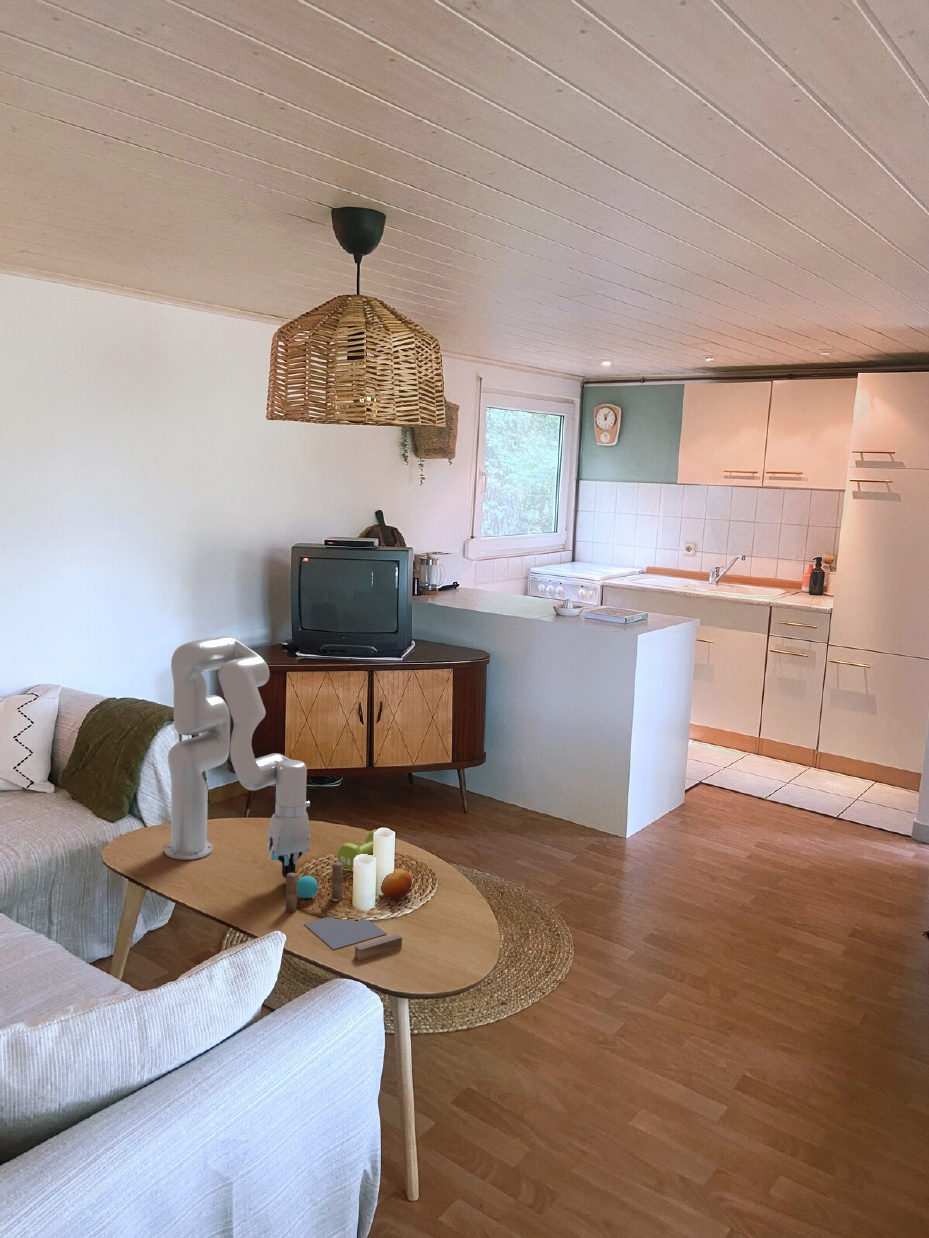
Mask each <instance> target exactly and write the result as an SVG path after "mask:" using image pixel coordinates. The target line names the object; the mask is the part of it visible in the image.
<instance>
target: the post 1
mask: <svg viewBox="0 0 929 1238" xmlns="http://www.w3.org/2000/svg"><path fill="white" fill-rule="evenodd" d="M298 875H299V874H298V873H296V872H295V873H288V874H287V878H285V879H286V882H285V884H286V885H285V907H284V908H285V909H284V910H285V912H286V913H288V914H294V913H296V912H297V902H298V901H297V900H298V894H297V881H298V877H299V876H298Z"/></svg>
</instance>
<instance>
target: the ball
mask: <svg viewBox="0 0 929 1238" xmlns="http://www.w3.org/2000/svg"><path fill="white" fill-rule="evenodd" d="M318 890H319V885H318V881H317V879H316V878H314V877H313V876H310V875H304V876H302V877H300V878H299V879H297V896H298V897H300V898H301V899H304V898H309V899H312V898H313V897H314V896H315V895H317V893H318ZM311 897H312V898H311Z"/></svg>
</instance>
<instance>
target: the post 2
mask: <svg viewBox="0 0 929 1238" xmlns="http://www.w3.org/2000/svg"><path fill="white" fill-rule="evenodd" d="M343 874H344V870H343V863H339V862H338V861H337V862H334V863H332V873H331V877H332V878H331V897H332V898H333V899H337V900H338V899H341V898H342V899H343V883H344V882H343V881H344V880H343V878H344V875H343ZM331 897H330V898H331Z"/></svg>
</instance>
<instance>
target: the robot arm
mask: <svg viewBox="0 0 929 1238" xmlns="http://www.w3.org/2000/svg"><path fill="white" fill-rule="evenodd" d="M269 668H270V667H269V665H268V663H267V662H266V660H264V658H263V657H261V655H260V654H258V653H256V652H255V651H254V650H252V649H250V648H249V647H248V646H247V645H245V644H243V643H242V642H240V641H239V640H237V639H235V638H233V637H230V636H219V637H212V638H203V639H198V640H193V641H189V642H186V643H183V644H181V645H180V646H178V647H177V648H176V650H174V651H173V654H172V656H171V662H170V669H171V674H172V680H173V724H174V728H175V730H176V732H177V733H178V734H180V735H181V736H194V737H191V738H187V739H184V740H181V741H179V742H177V743H175V744H174V745H172V747H171V748H170V749H169V751H168V753H167V763H168V768H169V773H170V774H169V775H170V787H171V788H170V789H171V796H170V797H171V803H170V804H171V805H170V806H171V807H170V809H171V810H170V813H171V814H170V843H168V844H167V845H166V846H165V847H164V855H166V856H167V857H169V858H171V859H174V860H182V861H185V860H187V861H190V860H197V859H201V858H204V857H206V856H208V855H209V854H211V853H212V852H213V844H212V843H211V842H209V841H208V797H209V796H208V792H209V791H208V784H207V782H206V781H205V779H204V777H203V772H205V771H208V770H210V769H214V768H216V767H219V766H222V765H223V764H224V763H225V762H226V761H227V760H228V758H229V756H230V760H231V764H232V767H233V769H234V772H235V775H236V778H237V779H238V780H237V781H239V783H240V785H241V786H243V787H244V788H245V789H246V790H248V791H258V790H261V789H263V788H266V787H269V786H272V785H276V786H275V812H274V813H273V814H272V816H271V818H270V823H269V827H268V835H267V850H268V851H269V855H268V859H270V860H271V861H279V862H280V863H282V865H281V876H282V877H283V878H284V879H286V878H287V874H288V873H296V865H297V863H299V859H300V858H301V857H302V855H305V854H307V853H309V851H310V849H309V848H310V844H311V832H310V831H311V829H310V820H309V815H308V812H307V808H310V806H311V803H310V801H307V776H308V775H307V774H308V769H307V768H308V767H307V765H306V763H305V762H303V761H302V760H296V759H291V758H290V757H289V758H288V757H287V756H285V755H283V754H282V753H275V752H274V753H270V754H267V755H264V756H263V755H262V756H260V757H257V758H256V757H255V754H254V751H253V747H252V741H253V740H252V739H253V735H254V732H255V730H256V728H257V727H258V726H259V724H260V723H261V721H263V720H264V718H266V717H265V716H266V713H267V712H266V708H265V706H264V703H263V699H262V697H261V693H260V692H259V688H260V687H262V686H264V685H266V684H267V682H268V681H269V679H270V674H271V673H270V669H269ZM217 670H218V672H217V674H218V675H217V677H218V680H219V684H220V686H221V690H222V693H223V696H224V699H225V700H224V699H223V698H222V697H221V696H219V695H214V694H207V693H208V692H207V691H208V689H207V688H208V687H207V682H206V679H205V677H204V675H203V674H202V673H204V672H211V671H217ZM231 718H232V722H233V729H232V733H231V730H230V729H231ZM230 733H231V734H230ZM199 734H201V735H199ZM195 735H198V736H195ZM230 735H231V736H230Z"/></svg>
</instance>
